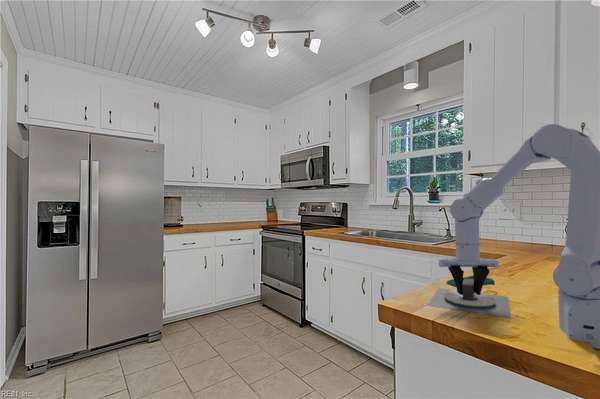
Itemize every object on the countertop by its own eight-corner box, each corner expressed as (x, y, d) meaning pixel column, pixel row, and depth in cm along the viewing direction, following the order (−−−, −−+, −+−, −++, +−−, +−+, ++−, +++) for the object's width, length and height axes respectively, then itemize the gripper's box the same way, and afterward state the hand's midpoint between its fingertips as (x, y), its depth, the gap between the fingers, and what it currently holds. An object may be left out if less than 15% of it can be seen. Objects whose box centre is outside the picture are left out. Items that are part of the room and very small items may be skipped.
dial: (495, 311, 73) (495, 290, 73) (441, 303, 80) (441, 284, 80) (494, 297, 83) (494, 279, 83) (447, 291, 90) (446, 274, 90)
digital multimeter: (444, 288, 99) (444, 279, 99) (474, 282, 105) (474, 274, 105) (465, 294, 92) (465, 285, 92) (495, 287, 99) (495, 278, 99)
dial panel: (510, 323, 69) (510, 317, 69) (427, 309, 79) (427, 304, 79) (508, 301, 84) (508, 296, 84) (438, 291, 94) (438, 287, 94)
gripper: (489, 241, 85) (490, 289, 84) (434, 241, 87) (436, 288, 87) (502, 245, 78) (503, 297, 77) (442, 245, 80) (444, 296, 80)
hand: (468, 293), depth 81 cm, fingers closed on dial, 4 cm apart
